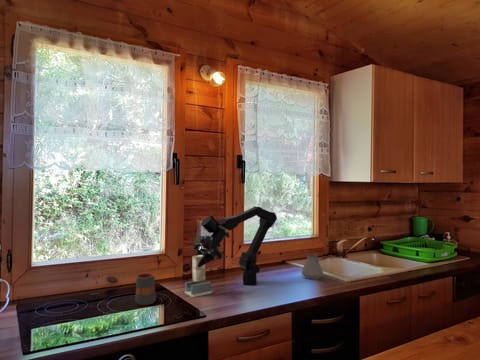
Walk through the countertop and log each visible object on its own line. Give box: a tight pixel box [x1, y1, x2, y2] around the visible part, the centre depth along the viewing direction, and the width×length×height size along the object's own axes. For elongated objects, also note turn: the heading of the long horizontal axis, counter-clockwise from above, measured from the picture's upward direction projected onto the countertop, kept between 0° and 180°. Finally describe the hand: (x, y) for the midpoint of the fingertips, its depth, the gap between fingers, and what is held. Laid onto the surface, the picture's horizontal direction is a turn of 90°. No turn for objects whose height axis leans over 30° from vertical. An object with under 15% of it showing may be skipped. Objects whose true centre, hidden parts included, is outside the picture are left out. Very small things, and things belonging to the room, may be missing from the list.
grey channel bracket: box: [184, 279, 213, 298], centre depth 177 cm, size 10×8×5 cm
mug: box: [134, 273, 157, 306], centre depth 165 cm, size 9×12×12 cm
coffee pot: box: [301, 252, 335, 281], centre depth 198 cm, size 21×12×15 cm, turn 29°
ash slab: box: [191, 254, 206, 281], centre depth 175 cm, size 5×3×11 cm, turn 129°
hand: (196, 266), depth 174 cm, fingers closed on ash slab, 3 cm apart
